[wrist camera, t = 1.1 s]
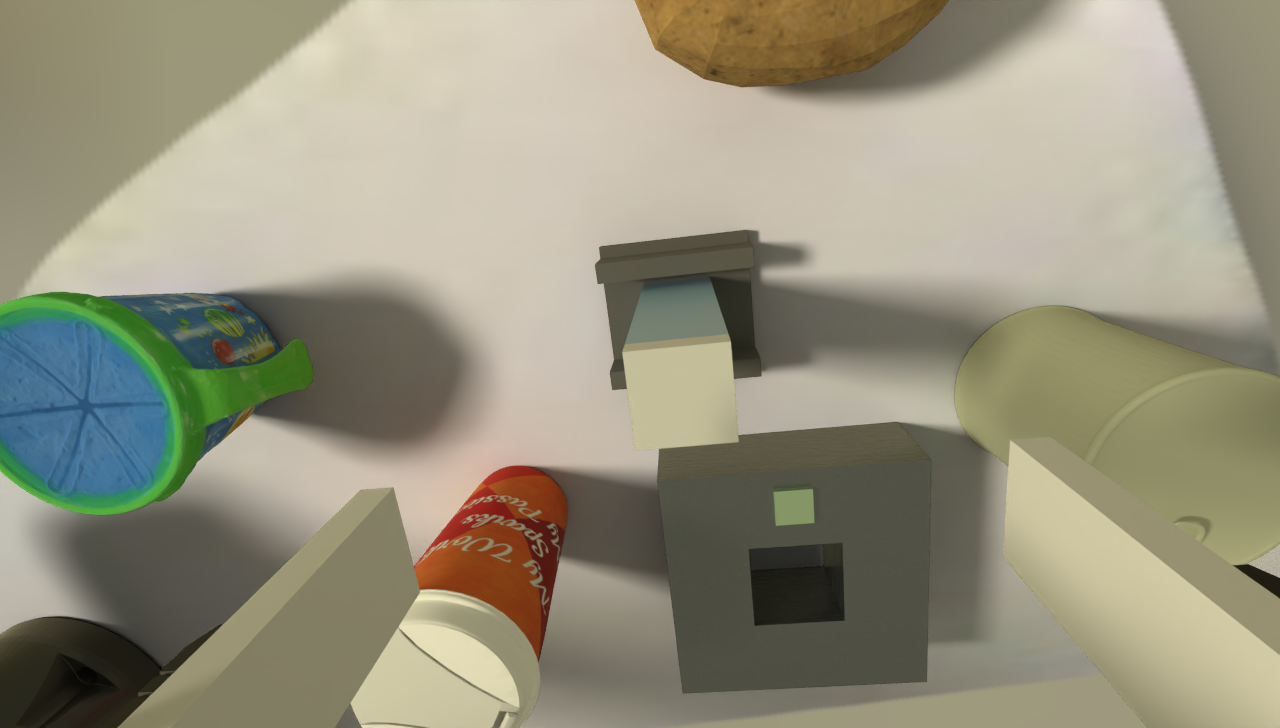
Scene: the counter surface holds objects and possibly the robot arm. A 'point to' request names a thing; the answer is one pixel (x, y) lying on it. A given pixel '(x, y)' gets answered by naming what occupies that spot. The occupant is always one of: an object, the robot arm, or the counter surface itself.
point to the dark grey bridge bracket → (678, 260)
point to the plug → (680, 367)
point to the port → (799, 597)
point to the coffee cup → (475, 614)
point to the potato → (782, 36)
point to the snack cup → (129, 391)
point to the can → (1135, 419)
